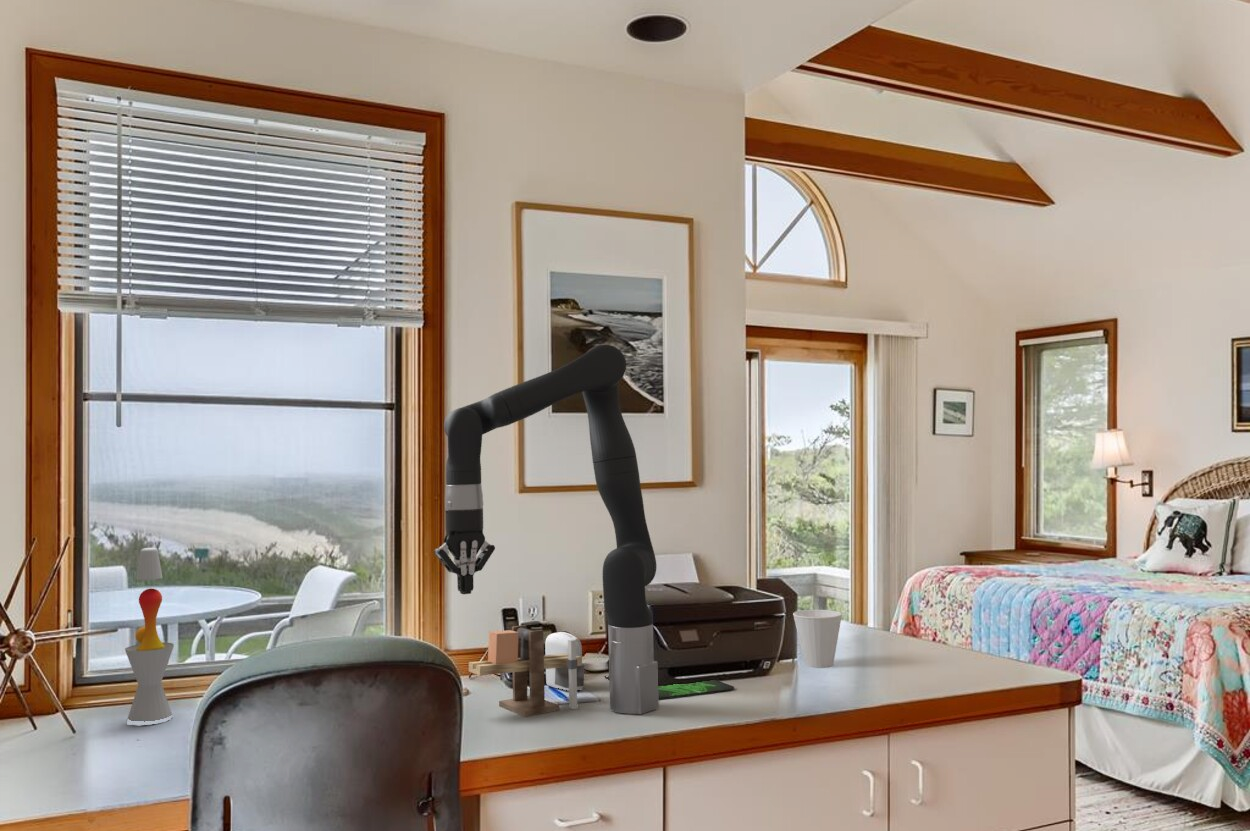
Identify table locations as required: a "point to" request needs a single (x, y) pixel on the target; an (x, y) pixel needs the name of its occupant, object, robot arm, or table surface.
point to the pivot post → (536, 673)
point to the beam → (523, 664)
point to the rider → (503, 647)
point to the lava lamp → (149, 648)
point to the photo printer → (559, 645)
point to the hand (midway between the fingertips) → (465, 593)
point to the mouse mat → (691, 689)
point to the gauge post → (572, 673)
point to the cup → (818, 636)
